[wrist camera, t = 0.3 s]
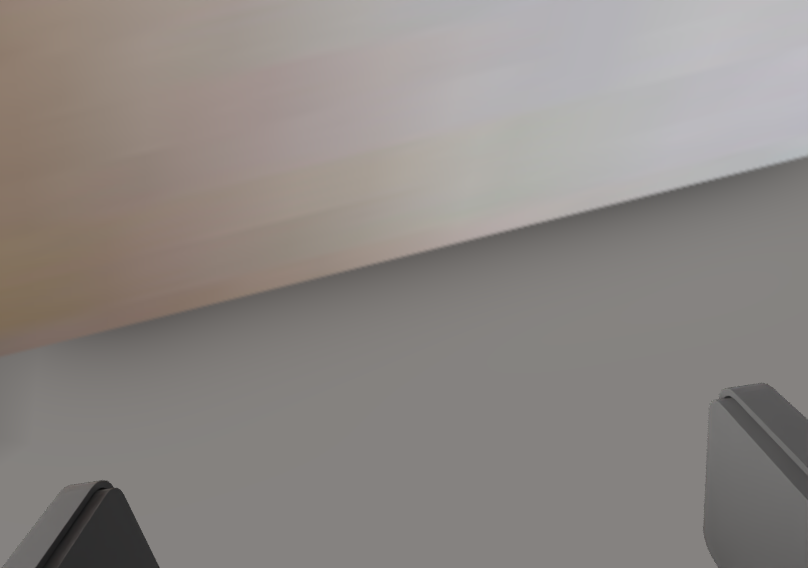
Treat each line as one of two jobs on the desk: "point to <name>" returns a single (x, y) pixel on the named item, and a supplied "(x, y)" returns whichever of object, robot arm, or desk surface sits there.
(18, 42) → the desk surface
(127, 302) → the desk surface
